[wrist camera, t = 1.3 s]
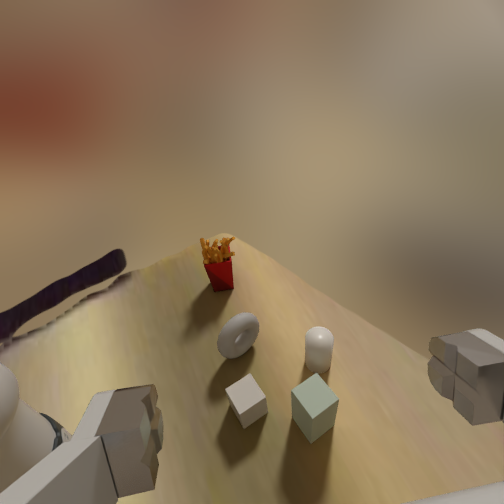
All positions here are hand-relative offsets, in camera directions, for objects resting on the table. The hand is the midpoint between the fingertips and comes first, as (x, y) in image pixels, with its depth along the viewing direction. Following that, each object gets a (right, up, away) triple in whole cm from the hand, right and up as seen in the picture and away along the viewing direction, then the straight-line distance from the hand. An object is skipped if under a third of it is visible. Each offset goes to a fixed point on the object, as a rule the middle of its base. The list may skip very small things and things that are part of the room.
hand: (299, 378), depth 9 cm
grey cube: (-2, -24, +47) cm, 53 cm away
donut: (-3, -17, +56) cm, 59 cm away
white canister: (+12, -18, +53) cm, 57 cm away
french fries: (-8, -5, +71) cm, 71 cm away
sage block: (+9, -25, +44) cm, 52 cm away
